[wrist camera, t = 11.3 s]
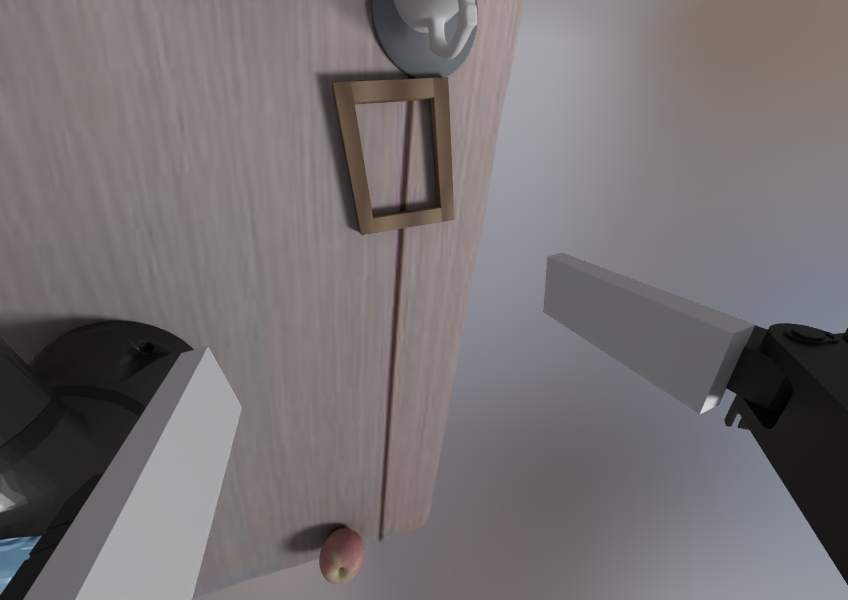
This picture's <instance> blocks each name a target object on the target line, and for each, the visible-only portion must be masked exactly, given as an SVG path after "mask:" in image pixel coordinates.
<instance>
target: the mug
mask: <svg viewBox="0 0 848 600" xmlns="http://www.w3.org/2000/svg"><path fill="white" fill-rule="evenodd" d="M393 1H394V4H395V7H396V9H397V11H398V13H399V15H400V17H401V18H402V20H403V21H404V22H405V23H406V24H407V25H408V26H409V27H410V28H412V29H413V30H415V31H418V32H422V33H429V45H430V51H431V52H432V53H434V54H436V55H437V56H439V57H441V58H443V59H453V58H455V57H456V56H457V55H458V54H459V53H460V52H461V50H462V49H463V47H464V45H465V43H466V41H467V40H468V37H469V35H470V33H471V31H472V29H473V28H474V27H475V26H476V25H477V7H476V5H475V0H393ZM458 11H459V15H458V24H457V29H456V32H455V35H454V38H453V40H452V41H451V42H450V43H449V44H448V45H447V43H446V40H445V35H444V24H445V23H446V22H447V21H448V20H449V19H450V18H452V17H453V16H454V15H455V14H456V13H457V12H458Z"/></svg>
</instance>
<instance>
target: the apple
mask: <svg viewBox="0 0 848 600" xmlns="http://www.w3.org/2000/svg"><path fill="white" fill-rule="evenodd" d="M363 556H364V548H363V542H362V539H361V537H360V535H359V534H358V533H357V532H355V531H353V530H352V529H349V528H342V529H338V530H335V531H334V532H333V533H332V534H331V535H330V536H329V537H328V538H327V539H326V541H325V543H324V544H323V546H322V549H321V552H320V569H321V572H322V574H323V576H324V577H325V579H326V580H327V581H329V582H330V583H332V584H342V583H346V582H348V581H349V580H350V579H352V578H353V577H354V576H355V574H356V573H357V572H358V571H359V569H360V567H361V564H362V561H363Z"/></svg>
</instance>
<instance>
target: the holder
mask: <svg viewBox="0 0 848 600" xmlns="http://www.w3.org/2000/svg"><path fill="white" fill-rule="evenodd" d="M332 87H333V92H334V97H335V103H336V108H337V114H338V119H339V124H340V130H341V135H342V140H343V146H344V151H345V156H346V162H347V167H348V172H349V178H350V183H351V188H352V194H353V199H354V204H355V210H356V215H357V220H358V226H359V231H360V234H361V235H365V234H371V233H377V232H383V231H389V230H395V229H401V228H407V227H413V226H419V225H425V224H431V223H437V222H443V221H449V220H454V203H453V179H452V156H451V133H450V110H449V86H448V77H445V78H422V79H399V80H376V81H353V82H333V85H332ZM414 100H430V112H431V126H432V141H433V156H434V171H435V186H436V200H437V206H435V207H429V208H422V209H416V210H409V211H403V212H396V213H390V214H383V215H377V216H373V215H372V209H371V203H370V196H369V190H368V184H367V178H366V172H365V166H364V160H363V154H362V148H361V141H360V135H359V129H358V123H357V117H356V111H355V105H354V104H366V103H382V102H398V101H414Z"/></svg>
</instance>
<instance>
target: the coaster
mask: <svg viewBox="0 0 848 600" xmlns="http://www.w3.org/2000/svg"><path fill="white" fill-rule="evenodd" d="M475 5H476V7H477V0H475ZM371 7H372V17H373V22H374V27H375V30H376V34H377V36H378V39H379V41H380V44H381V46H382V47H383V49H384V51H385V53H386V54H387V56H388V57H389V59H390V60H391V61H392V62H393V64H394V65H395V66H396V67H398V68H399V69H400V70H401V71H402V72H404V73H405V74H407V75H409V76H410V77H412V78H415V79H422V78H444V77H446V76H448V75H450V74H451V73H452V72H454V71H455V70H456V69H457V68H458V67H459V66H460V65H461V64H462V63H463V62H464V60H465V59H466V57H467V55H468V54H469V52H470V49H471V47H472V45H473V42H474V38H475V34H476V29H477V25H476V26H475V27H474V28H473V29H472V31H471V33H470V35H469V37H468V40H467V41H466V43H465V45H464V47H463V49H462V50H461V52H460V53H459V54H458V55H457V56H456V57H455V58H453V59H443V58H441V57H439V56H437V55H436V54H434V53H432V52H431V51H430V45H429V33H422V32H418V31H415V30H413V29H412V28H410V27H409V26H408V25H407V24H406V23H405V22H404V21H403V20H402V18H401V17H400V15H399V13H398V11H397V9H396V7H395V4H394V1H393V0H371ZM458 15H459V11H458V12H457V13H456V14H455V15H454V16H453V17H452V18H450V19H449V20H448V21H447V22H446V23H445V24H444V35H445V40H446V43H447V45H448V44H449V43H450V42H451V41H452V40H453V38H454V35H455V32H456V29H457V24H458ZM477 20H478V8H477Z"/></svg>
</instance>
